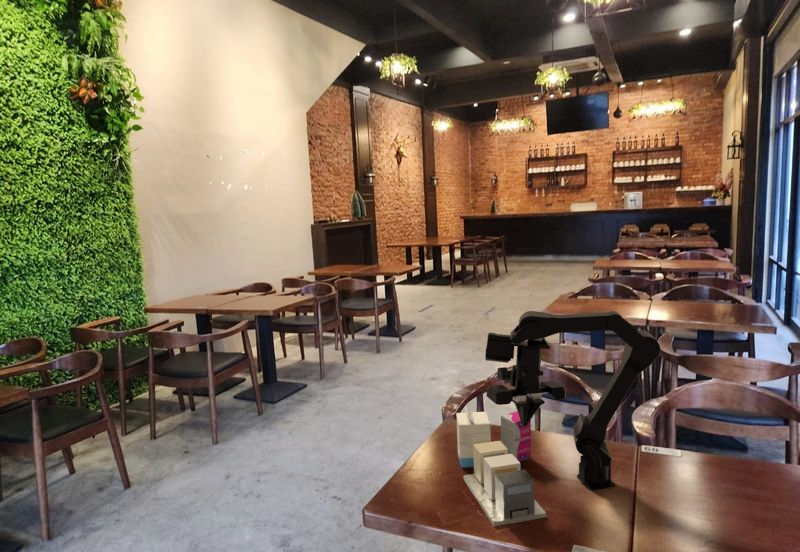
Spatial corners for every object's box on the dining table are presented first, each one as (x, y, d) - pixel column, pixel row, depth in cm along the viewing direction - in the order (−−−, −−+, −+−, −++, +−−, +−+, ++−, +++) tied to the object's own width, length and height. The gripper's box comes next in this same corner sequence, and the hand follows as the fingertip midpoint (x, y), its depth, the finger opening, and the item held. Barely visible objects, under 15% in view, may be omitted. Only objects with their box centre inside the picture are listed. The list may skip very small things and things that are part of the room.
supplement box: (514, 464, 136) (513, 422, 134) (500, 455, 141) (499, 415, 139) (531, 458, 138) (531, 417, 137) (517, 450, 143) (516, 410, 142)
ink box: (492, 466, 135) (491, 417, 133) (460, 468, 135) (458, 418, 133) (487, 451, 144) (486, 404, 142) (457, 452, 144) (455, 406, 142)
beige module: (500, 470, 130) (499, 440, 129) (508, 480, 126) (507, 449, 125) (474, 474, 129) (473, 444, 128) (481, 484, 124) (480, 453, 123)
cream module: (512, 484, 123) (511, 453, 122) (521, 495, 119) (520, 463, 118) (484, 489, 122) (483, 457, 121) (492, 500, 117) (491, 468, 116)
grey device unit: (508, 472, 132) (508, 439, 131) (546, 517, 112) (545, 479, 111) (463, 479, 130) (462, 445, 128) (493, 526, 110) (492, 487, 109)
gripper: (544, 352, 136) (539, 409, 138) (478, 356, 130) (475, 416, 132) (569, 365, 125) (564, 427, 127) (499, 370, 120) (495, 435, 122)
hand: (524, 425), depth 127 cm, fingers closed
